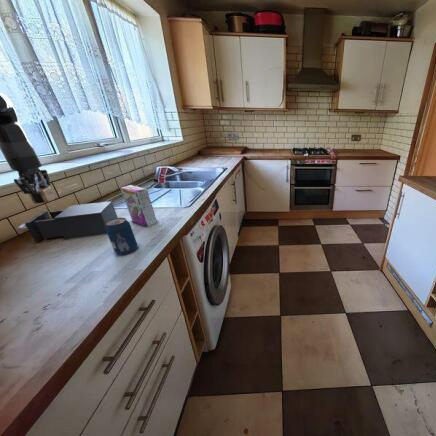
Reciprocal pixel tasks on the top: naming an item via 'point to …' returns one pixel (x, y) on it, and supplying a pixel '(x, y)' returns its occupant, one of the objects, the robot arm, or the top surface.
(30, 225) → the dark grey drawer
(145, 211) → the candy bar box
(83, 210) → the low dark rectangular box
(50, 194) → the block
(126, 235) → the soda can
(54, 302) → the top surface
